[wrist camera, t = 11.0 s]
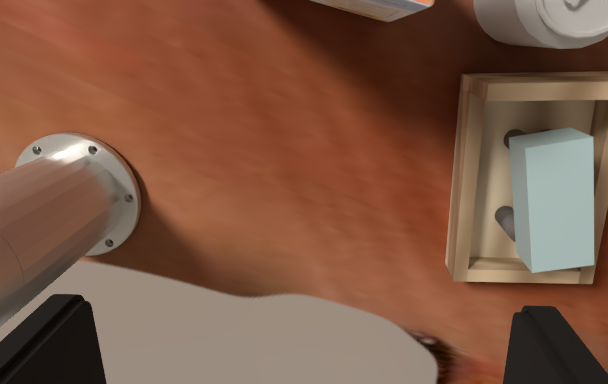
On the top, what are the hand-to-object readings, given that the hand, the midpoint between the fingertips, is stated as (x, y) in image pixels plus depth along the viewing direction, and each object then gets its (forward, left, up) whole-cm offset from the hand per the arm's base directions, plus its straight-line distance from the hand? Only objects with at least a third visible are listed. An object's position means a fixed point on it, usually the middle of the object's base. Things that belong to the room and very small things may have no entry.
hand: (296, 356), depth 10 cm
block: (+17, -6, -28) cm, 33 cm away
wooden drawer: (+17, -6, -33) cm, 38 cm away
